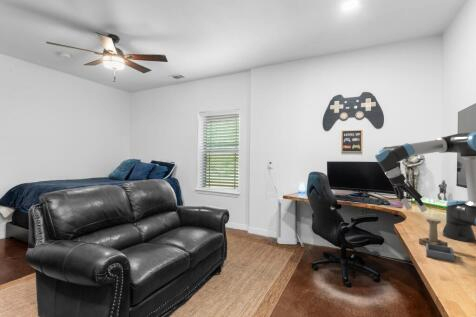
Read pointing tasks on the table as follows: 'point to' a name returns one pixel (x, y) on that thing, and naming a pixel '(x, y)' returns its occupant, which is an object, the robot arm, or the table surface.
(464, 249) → the table surface
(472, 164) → the robot arm
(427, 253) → the tray
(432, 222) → the handle
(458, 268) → the table surface
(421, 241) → the collar
